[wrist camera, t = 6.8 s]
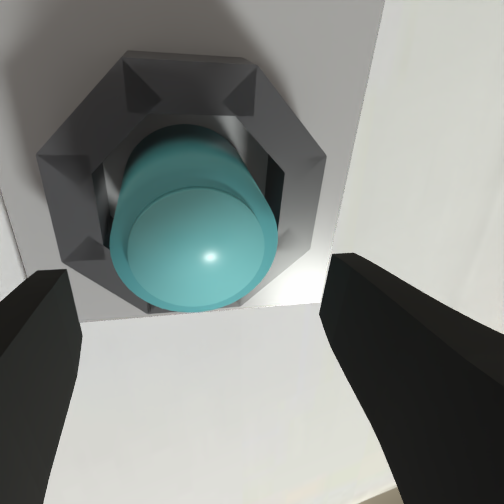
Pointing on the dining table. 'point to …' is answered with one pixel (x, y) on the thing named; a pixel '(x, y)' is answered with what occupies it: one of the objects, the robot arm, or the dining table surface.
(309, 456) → the dining table surface
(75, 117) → the octagonal ring on plate
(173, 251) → the cap
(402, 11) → the dining table surface
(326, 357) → the dining table surface
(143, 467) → the dining table surface
